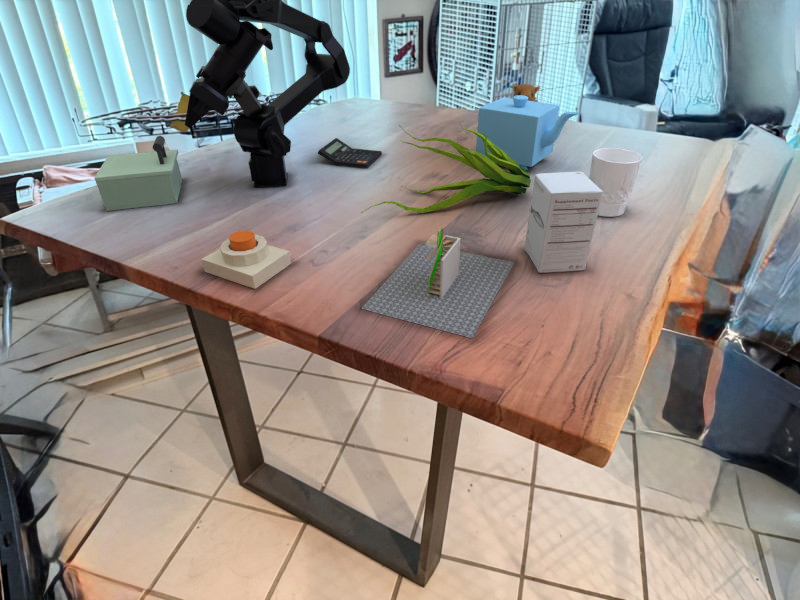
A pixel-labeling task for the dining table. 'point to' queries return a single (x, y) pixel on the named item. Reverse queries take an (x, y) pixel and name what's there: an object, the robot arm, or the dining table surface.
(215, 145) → the dining table surface
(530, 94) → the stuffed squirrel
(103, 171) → the box lid
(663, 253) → the dining table surface
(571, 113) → the teapot
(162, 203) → the green lidded box
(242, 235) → the button
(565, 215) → the white packaging box
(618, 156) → the white cup
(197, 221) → the dining table surface
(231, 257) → the control block
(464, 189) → the decorative plant
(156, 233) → the dining table surface
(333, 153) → the calculator
